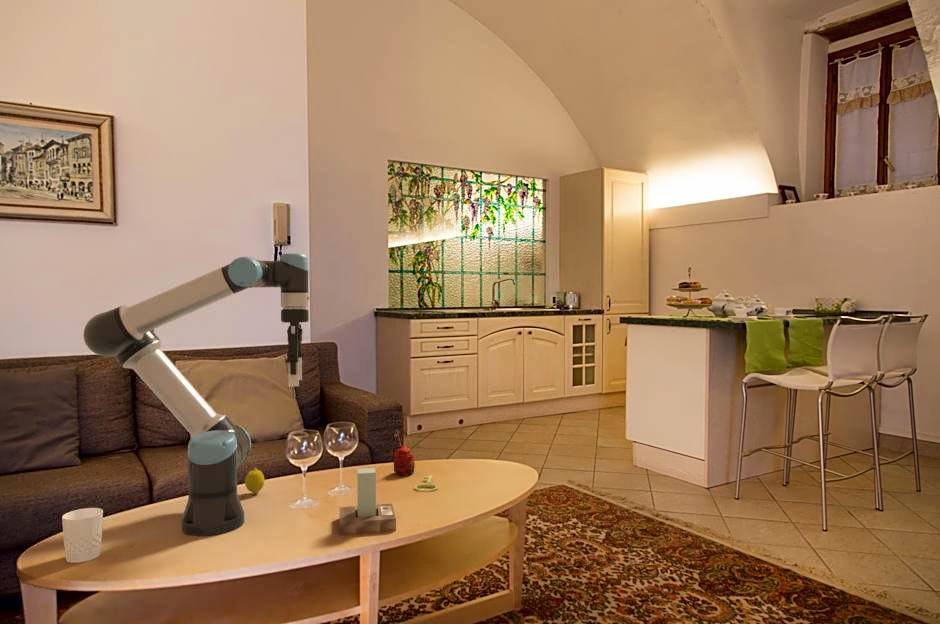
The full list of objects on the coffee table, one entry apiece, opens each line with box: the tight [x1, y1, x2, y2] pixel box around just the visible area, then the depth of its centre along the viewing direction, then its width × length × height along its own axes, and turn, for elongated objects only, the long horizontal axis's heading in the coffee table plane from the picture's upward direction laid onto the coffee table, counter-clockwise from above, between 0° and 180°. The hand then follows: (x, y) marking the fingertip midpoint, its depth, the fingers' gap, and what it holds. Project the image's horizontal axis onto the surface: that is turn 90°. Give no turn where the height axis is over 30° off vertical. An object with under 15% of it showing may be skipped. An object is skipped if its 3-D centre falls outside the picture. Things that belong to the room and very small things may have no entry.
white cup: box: [61, 507, 104, 564], centre depth 141 cm, size 8×8×10 cm
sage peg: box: [356, 467, 377, 517], centre depth 161 cm, size 4×4×14 cm
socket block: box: [338, 503, 397, 536], centre depth 161 cm, size 14×12×3 cm
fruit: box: [244, 467, 266, 495], centre depth 187 cm, size 6×6×8 cm
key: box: [414, 474, 439, 493], centre depth 194 cm, size 7×12×2 cm, turn 14°
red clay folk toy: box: [393, 429, 416, 477], centre depth 208 cm, size 8×7×15 cm
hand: (295, 383), depth 176 cm, fingers open, 13 cm apart
